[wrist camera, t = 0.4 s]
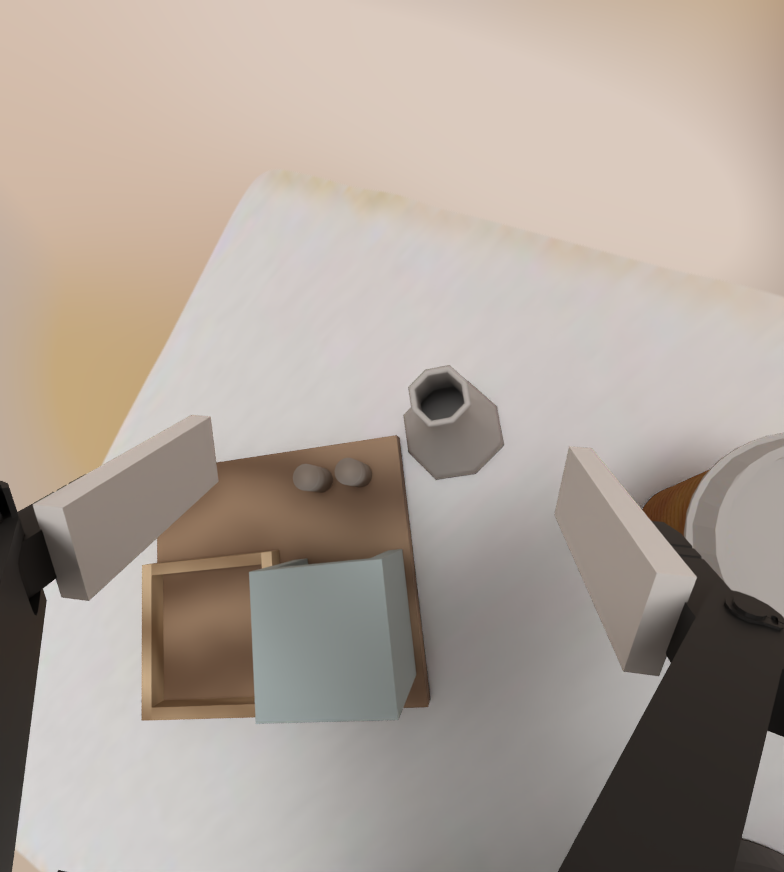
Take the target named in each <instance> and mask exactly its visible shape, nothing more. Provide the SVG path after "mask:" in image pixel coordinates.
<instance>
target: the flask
mask: <svg viewBox="0 0 784 872" xmlns="http://www.w3.org/2000/svg"><path fill="white" fill-rule="evenodd" d="M408 388H409V395H410V402H411V408H410V409H409V410H408V411H407V412H406V413H405V414H404V415H403V416H404V423H405V430H406V438H407V445H408V452H409V453H410V454H411V455H412V456H413V457H414V458H415V459H416V460H417V461H418V462H419V463H420V464H421V465H422V466H423V467H424V468H425V469H426V470H427V471H428V472H429V473H430V474H431V475H432V476H433V477H434V478H435V479H443V478H450V477H456V476H463V475H470V474H476V473H477V472H478V471H479V470H480V469H481V468H482V467H483V466H484V465H485V464H486V463H487V462H488V461H489V460H490V459H491V458H492V457H493V456H494V455H495V454H496V453H497V452H498V451H499V450H500V448H501V447H502V446H503V445H504V442H503V437H502V431H501V426H500V421H499V415H498V410H497V406H496V405H495V404H494V403H492V402H491V401H490V400H489V399H488V398H487V397H486V396H484V395H483V394H482V393H481V392H480V391H479V390H478V389H477V388H475V387H474V386H473V385H472V384H471V383H470V382H469V381H467V380H466V379H465V378H463V377H462V376H461V375H460V374H459V373H458V372H457V371H455V370H454V369H453V368H452V367H451V366H450V365H447V366H442V367H437V368H432V369H427V370H425V371H424V372H423V373H422V374H421V375H420V376H419V377H418V378H417V379H416V380H415V381H414V382H413V383H412V384H411V385H410V386H409V387H408Z"/></svg>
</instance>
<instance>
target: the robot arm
mask: <svg viewBox="0 0 784 872" xmlns="http://www.w3.org/2000/svg"><path fill="white" fill-rule="evenodd" d="M217 482H218V473H217V465H216V457H215V448H214V440H213V432H212V424H211V417H209V416H197V415H191V416H189V417H187V418H185V419H183V420H182V421H180V422H178V423H176V424H175V425H173V426H171V427H169V428H168V429H166V430H164V431H162V432H160V433H159V434H157V435H155V436H153V437H152V438H150V439H148V440H146V441H144V442H143V443H141V444H139V445H137V446H136V447H134V448H132V449H130V450H128V451H127V452H125V453H123V454H121V455H120V456H118V457H116V458H114V459H113V460H111V461H109V462H107V463H105V464H104V465H102V466H100V467H98V468H97V469H95V470H93V471H91V472H90V473H88V474H85V475H83V476H81V477H79V478H77V479H76V480H74V481H72V482H70V483H69V484H68V485H65V486H63V487H62V488H60V489H58V490H57V491H56V492H52V493H51V494H49V495H47V496H45V497H44V498H42V499H40V500H38V501H36V502H35V503H33V504H31V505H29V506H28V507H26V508H24V509H22V510H20V511H19V512H17V510H16V507H15V504H14V501H13V497H12V494H11V492H10V488H9V485H8V483H5V482H3V481H0V872H12V866H13V858H14V851H15V843H16V835H17V827H18V820H19V812H20V804H21V796H22V788H23V781H24V773H25V765H26V757H27V749H28V741H29V734H30V726H31V718H32V710H33V702H34V695H35V687H36V679H37V671H38V663H39V656H40V648H41V640H42V632H43V624H44V617H45V609H46V601H47V600H46V597H45V594H44V591H43V588H44V587H45V586H47V585H48V584H49V583H50V582H52V581H53V580H54V579H56V581H57V584H58V587H59V591H60V594H61V597H63V598H71V599H79V600H86V601H89V600H90V599H91V598H93V597H94V596H95V595H96V594H97V593H98V592H99V591H100V590H101V589H102V588H103V587H105V586H106V585H107V584H108V583H109V582H110V581H111V580H112V579H113V578H114V577H115V576H116V575H118V574H119V573H120V572H121V571H122V570H123V569H124V568H125V567H126V566H127V565H128V564H129V563H131V562H132V561H133V560H134V559H135V558H136V557H137V556H138V555H139V554H140V553H141V552H143V551H144V550H145V549H146V548H147V547H148V546H149V545H150V544H151V543H152V542H153V541H154V540H156V539H157V538H158V537H159V536H160V535H161V534H162V533H163V532H164V531H165V530H166V529H167V528H169V527H170V526H171V525H172V524H173V523H174V522H175V521H176V520H177V519H178V518H179V517H180V516H182V515H183V514H184V513H185V512H186V511H187V510H188V509H189V508H190V507H191V506H192V505H194V504H195V503H196V502H197V501H198V500H199V499H200V498H201V497H202V496H203V495H204V494H205V493H207V492H208V491H209V490H210V489H211V488H212V487H213V486H214V485H215V484H216V483H217ZM554 515H555V517H556V519H557V522H558V524H559V526H560V528H561V531H562V533H563V535H564V537H565V540H566V542H567V544H568V547H569V549H570V551H571V553H572V556H573V558H574V560H575V563H576V565H577V567H578V569H579V572H580V574H581V576H582V578H583V581H584V583H585V585H586V588H587V590H588V592H589V594H590V597H591V599H592V601H593V603H594V606H595V608H596V610H597V613H598V615H599V617H600V619H601V622H602V624H603V626H604V628H605V631H606V633H607V635H608V638H609V640H610V642H611V644H612V647H613V649H614V651H615V653H616V656H617V658H618V660H619V663H620V665H621V667H622V669H623V671H624V672H632V673H639V674H647V675H654V676H659V675H660V672H661V670H662V667H663V665H664V662H665V659H666V657H668V659H669V660H670V662H671V664H670V666H669V668H668V670H667V671H666V673H665V675H664V677H663V679H662V681H661V682H660V684H659V686H658V688H657V690H656V692H655V694H654V695H653V697H652V699H651V701H650V703H649V705H648V706H647V708H646V710H645V712H644V714H643V716H642V718H641V719H640V721H639V723H638V725H637V727H636V729H635V730H634V732H633V734H632V736H631V738H630V740H629V742H628V743H627V745H626V747H625V749H624V751H623V753H622V754H621V756H620V758H619V760H618V762H617V764H616V765H615V767H614V769H613V771H612V773H611V775H610V777H609V778H608V780H607V782H606V784H605V786H604V788H603V789H602V791H601V793H600V795H599V797H598V799H597V801H596V802H595V804H594V806H593V808H592V810H591V812H590V813H589V815H588V817H587V819H586V821H585V823H584V825H583V826H582V828H581V830H580V832H579V834H578V836H577V837H576V839H575V841H574V843H573V845H572V847H571V848H570V850H569V852H568V854H567V856H566V858H565V860H564V861H563V863H562V865H561V867H560V869H559V871H558V872H784V856H783V855H781V854H779V853H777V852H775V851H773V850H770V849H768V848H766V847H763V846H760V845H758V844H755V843H752V842H748V841H745V840H741V838H742V834H743V830H744V826H745V821H746V817H747V813H748V809H749V805H750V801H751V797H752V792H753V788H754V784H755V780H756V776H757V772H758V767H759V763H760V759H761V755H762V751H763V747H764V742H765V738H766V734H767V731H770V732H772V733H775V734H778V735H780V736H783V737H784V617H783V616H782V615H781V614H780V613H779V612H777V611H776V610H775V609H773V608H772V607H771V606H769V605H768V604H766V603H764V602H762V601H760V600H758V599H757V598H755V597H752V596H750V595H747V594H744V593H741V592H738V591H733V590H731V589H730V588H729V587H728V586H727V584H726V583H725V582H724V581H723V580H722V579H721V578H720V577H719V575H718V574H717V573H716V572H715V571H714V570H713V569H712V568H711V566H710V565H709V564H708V563H707V562H706V561H705V560H704V559H702V558H701V557H702V556H701V555H700V554H699V553H698V552H697V551H696V550H695V549H694V548H692V545H691V544H690V543H689V542H688V541H687V539H686V538H685V537H684V536H683V535H682V534H681V533H680V532H678V531H677V530H675V529H674V528H672V527H671V526H669V525H667V524H666V523H664V522H658V521H651V520H650V519H649V518H648V517H647V515H646V514H645V513H644V512H643V510H642V509H641V508H640V507H639V506H638V504H637V503H636V502H635V501H634V499H633V498H632V497H631V496H630V495H629V493H628V492H627V491H626V490H625V488H624V487H623V486H622V485H621V483H620V482H619V481H618V480H617V479H616V477H615V476H614V475H613V474H612V472H611V471H610V470H609V469H608V468H607V466H606V465H605V464H604V463H603V461H602V460H601V459H600V458H599V456H598V455H597V454H596V453H595V452H594V450H593V449H592V448H581V447H569V449H568V454H567V459H566V463H565V468H564V473H563V477H562V482H561V487H560V491H559V496H558V500H557V505H556V510H555V514H554ZM58 872H65V871H60V870H58Z"/></svg>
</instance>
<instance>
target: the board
mask: <svg viewBox="0 0 784 872" xmlns="http://www.w3.org/2000/svg"><path fill="white" fill-rule="evenodd" d="M216 465H217V473H218V482H217V483H216V484H215V485H214V486H213V487H212V488H211V489H210V490H209V491H208V492H207V493H205V494H204V495H203V496H202V497H201V498H200V499H199V500H198V501H197V502H196V503H195V504H194V505H192V506H191V507H190V508H189V509H188V510H187V511H186V512H185V513H184V514H183V515H182V516H180V517H179V518H178V519H177V520H176V521H175V522H174V523H173V524H172V525H171V526H170V527H169V528H167V529H166V530H165V531H164V532H163V533H162V534H161V535H160V536H159V537H158V538H157V563H153V564H147V565H142V720H176V719H211V718H246V717H255V695H254V672H253V650H252V627H251V604H250V582H249V572H251V571H255V570H259V569H262V568H266V567H270V566H273V565H277V564H281V563H285V562H288V561H292V560H298V559H308V564H318V563H328V562H338V561H348V560H359V559H369V558H372V557H374V556H376V555H379V554H381V553H383V552H386V551H388V550H397V549H402V552H403V560H404V569H405V578H406V587H407V596H408V605H409V613H410V622H411V631H412V640H413V649H414V658H415V666H416V677H415V679H414V682H413V684H412V687H411V689H410V692H409V694H408V697H407V699H406V702H405V705H404V707H403V708H415V707H428V705H429V702H430V693H429V684H428V676H427V667H426V659H425V650H424V642H423V633H422V625H421V616H420V608H419V599H418V591H417V582H416V574H415V565H414V557H413V548H412V540H411V531H410V523H409V514H408V506H407V498H406V489H405V481H404V472H403V464H402V455H401V447H400V438H399V437H398V436H397V435H396V436H389V437H382V438H376V439H369V440H363V441H356V442H349V443H343V444H336V445H330V446H323V447H316V448H310V449H303V450H297V451H290V452H283V453H277V454H270V455H264V456H257V457H250V458H244V459H237V460H231V461H224V462H217V463H216Z"/></svg>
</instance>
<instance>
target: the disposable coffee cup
mask: <svg viewBox="0 0 784 872" xmlns="http://www.w3.org/2000/svg"><path fill="white" fill-rule="evenodd" d="M643 512H644V513H645V514H646V515H647V517H648V518H649V519H650V520H651V521H658V522H664V523H666V524H667V525H669V526H671V527H672V528H674V529H675V530H677V531H678V532H680V533H681V534H682V535H683V536H684V537H685V538H686V539H687V541H688V542H689V543H690V544H691V545H692V548H694V549H695V550H696V551H697V552H698V553H699V554H700V555H701V556H702V557H701V558H702V559H704V560H705V561H706V562H707V563H708V564H709V565H710V566H711V568H712V569H713V570H714V571H715V572H716V573H717V574H718V575H719V577H720V578H721V579H722V580H723V581H724V582H725V583H726V584H727V586H728V587H729V588H730V589H731V590H733V591H738V592H741V593H744V594H747V595H750V596H752V597H755V598H757V599H758V600H760V601H762V602H764V603H766V604H768V605H769V606H771V607H772V608H773V609H775V610H776V611H777V612H779V613H780V614H781V615H782V616H783V617H784V433H780V434H775V435H770V436H765V437H762V438H759V439H757V440H754V441H752V442H749V443H747V444H745V445H743V446H741V447H739V448H737V449H735V450H733V451H732V452H730V453H729V454H728V455H726V456H725V457H723V458H722V459H721V460H719V461H718V462H717V463H716V464H715V465H714V466H713V467H712V468H711V469H710V470H708V471H705V472H703V473H701V474H699V475H697V476H694V477H692V478H690V479H688V480H685V481H683V482H681V483H679V484H676V485H674V486H672V487H669V488H667V489H665V490H662V491H660V492H659V493H657V494H656V495H654V496H653V497H652V498H651V499H650V500H649V501H648V502H647V503H646V505H645V506H644V508H643Z"/></svg>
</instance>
